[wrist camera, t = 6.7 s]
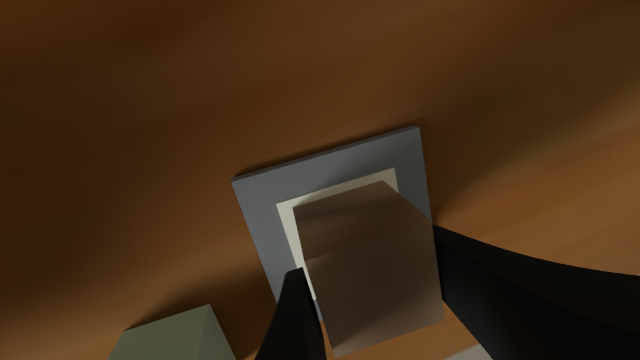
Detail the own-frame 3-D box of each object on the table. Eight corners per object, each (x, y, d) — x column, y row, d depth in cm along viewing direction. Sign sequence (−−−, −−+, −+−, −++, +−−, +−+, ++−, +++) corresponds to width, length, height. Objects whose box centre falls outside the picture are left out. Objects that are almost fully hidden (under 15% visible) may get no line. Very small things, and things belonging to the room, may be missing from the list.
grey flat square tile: (287, 322, 15) (288, 333, 14) (232, 177, 12) (230, 182, 12) (433, 272, 16) (440, 281, 15) (412, 125, 13) (420, 127, 12)
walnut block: (316, 283, 14) (335, 358, 10) (292, 207, 12) (304, 261, 9) (396, 256, 14) (444, 320, 10) (382, 180, 13) (431, 220, 9)
